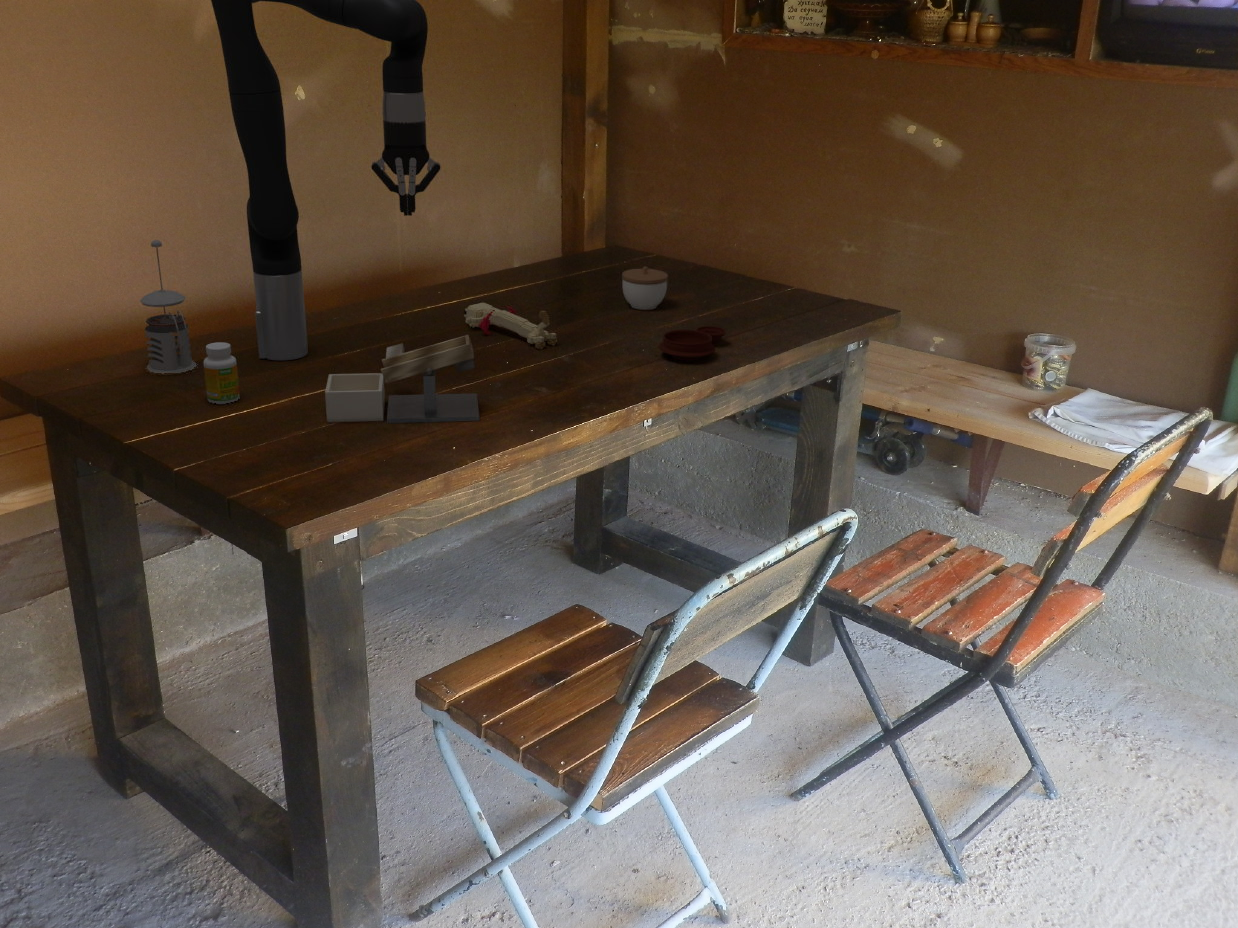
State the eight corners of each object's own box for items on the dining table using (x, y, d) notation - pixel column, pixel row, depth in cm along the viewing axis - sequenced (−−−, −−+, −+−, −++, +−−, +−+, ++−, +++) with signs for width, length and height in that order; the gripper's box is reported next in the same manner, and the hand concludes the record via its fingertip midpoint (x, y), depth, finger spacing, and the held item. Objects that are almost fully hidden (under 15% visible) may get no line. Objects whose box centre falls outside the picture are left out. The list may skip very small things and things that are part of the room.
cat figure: (563, 348, 256) (484, 315, 271) (566, 309, 253) (485, 277, 267) (530, 358, 249) (450, 323, 264) (532, 318, 246) (451, 285, 260)
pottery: (648, 359, 247) (648, 338, 246) (692, 335, 263) (693, 316, 262) (698, 369, 242) (699, 349, 240) (741, 345, 258) (742, 325, 256)
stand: (387, 423, 210) (385, 380, 206) (388, 399, 220) (386, 359, 217) (479, 420, 212) (478, 379, 209) (476, 397, 223) (475, 357, 220)
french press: (183, 356, 239) (169, 232, 230) (211, 371, 232) (197, 243, 222) (135, 366, 233) (118, 238, 223) (163, 382, 226) (146, 250, 216)
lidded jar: (674, 305, 285) (676, 266, 281) (651, 315, 277) (653, 275, 273) (636, 297, 290) (637, 259, 286) (612, 307, 282) (613, 268, 278)
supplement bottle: (222, 407, 214) (216, 352, 210) (200, 400, 217) (194, 346, 213) (246, 398, 219) (241, 344, 215) (225, 392, 222) (219, 339, 217)
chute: (388, 395, 209) (380, 372, 207) (391, 367, 223) (383, 345, 221) (477, 370, 210) (469, 347, 208) (474, 343, 224) (467, 321, 222)
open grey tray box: (327, 422, 209) (324, 392, 207) (331, 403, 218) (329, 374, 216) (383, 420, 211) (381, 391, 208) (384, 401, 219) (383, 373, 217)
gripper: (365, 120, 210) (370, 219, 217) (441, 121, 212) (444, 219, 219) (367, 115, 217) (372, 211, 224) (441, 115, 219) (444, 211, 226)
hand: (408, 214), depth 222 cm, fingers closed
